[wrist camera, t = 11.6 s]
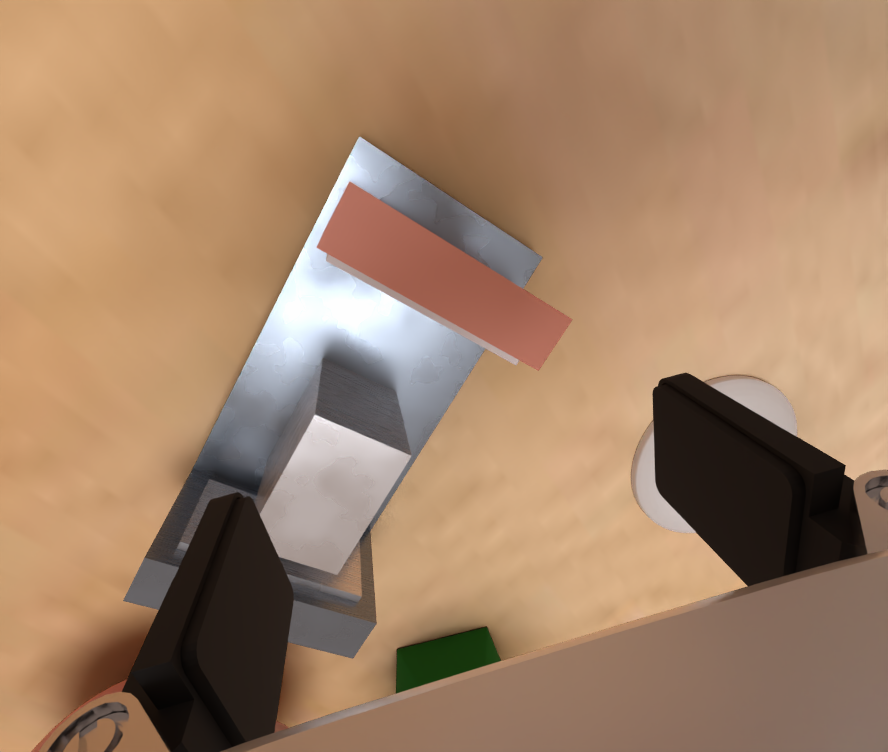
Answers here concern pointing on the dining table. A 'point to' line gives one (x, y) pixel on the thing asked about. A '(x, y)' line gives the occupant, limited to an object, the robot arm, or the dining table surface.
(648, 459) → the candlestick
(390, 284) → the block
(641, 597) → the dining table surface
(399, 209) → the metal base plate
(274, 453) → the steel block
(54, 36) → the dining table surface
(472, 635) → the milk carton
